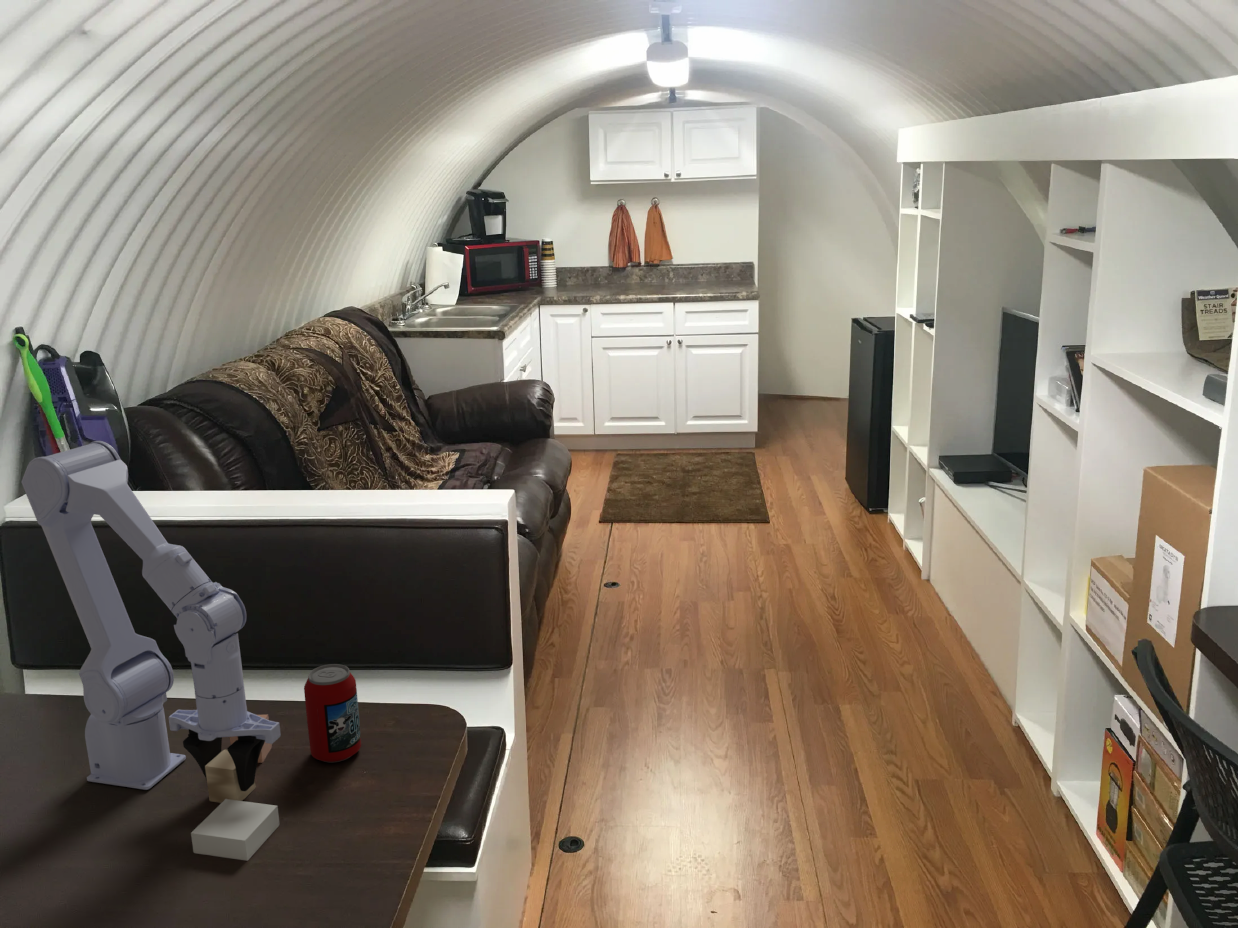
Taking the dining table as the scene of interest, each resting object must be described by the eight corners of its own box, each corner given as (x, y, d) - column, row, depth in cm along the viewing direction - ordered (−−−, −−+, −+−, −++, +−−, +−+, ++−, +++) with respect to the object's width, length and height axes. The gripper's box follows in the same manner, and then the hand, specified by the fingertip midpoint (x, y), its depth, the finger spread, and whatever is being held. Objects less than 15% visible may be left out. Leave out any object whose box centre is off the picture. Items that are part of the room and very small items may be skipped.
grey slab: (193, 855, 121) (190, 832, 121) (228, 820, 128) (225, 798, 127) (247, 862, 120) (245, 840, 119) (279, 827, 126) (277, 805, 126)
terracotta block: (232, 763, 140) (228, 729, 139) (242, 747, 144) (238, 714, 142) (262, 762, 140) (258, 729, 139) (271, 746, 144) (268, 714, 143)
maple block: (209, 800, 131) (204, 765, 130) (228, 783, 135) (224, 749, 134) (237, 805, 130) (233, 769, 129) (255, 787, 134) (251, 753, 133)
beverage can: (348, 768, 138) (341, 686, 135) (301, 763, 140) (293, 682, 136) (370, 742, 145) (363, 663, 141) (325, 737, 146) (317, 659, 143)
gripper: (147, 696, 127) (161, 794, 130) (252, 709, 123) (264, 809, 127) (184, 670, 133) (196, 764, 137) (285, 682, 130) (295, 778, 133)
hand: (231, 784), depth 132 cm, fingers closed on maple block, 4 cm apart
